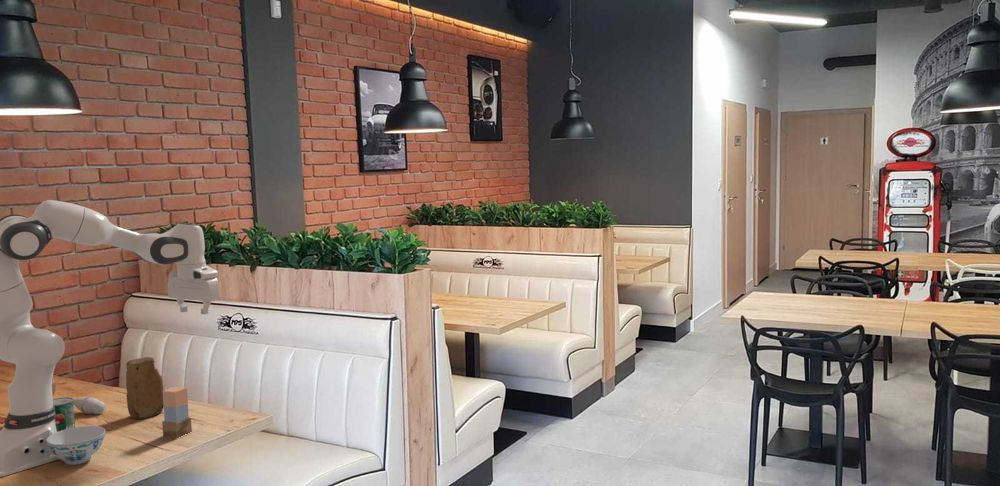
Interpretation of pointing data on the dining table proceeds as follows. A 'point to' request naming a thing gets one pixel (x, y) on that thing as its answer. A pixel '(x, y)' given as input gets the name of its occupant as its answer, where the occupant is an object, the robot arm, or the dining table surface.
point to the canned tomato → (64, 413)
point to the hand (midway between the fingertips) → (194, 312)
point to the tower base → (176, 428)
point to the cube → (175, 397)
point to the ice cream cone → (89, 405)
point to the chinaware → (76, 443)
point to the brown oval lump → (143, 388)
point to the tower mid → (176, 413)
